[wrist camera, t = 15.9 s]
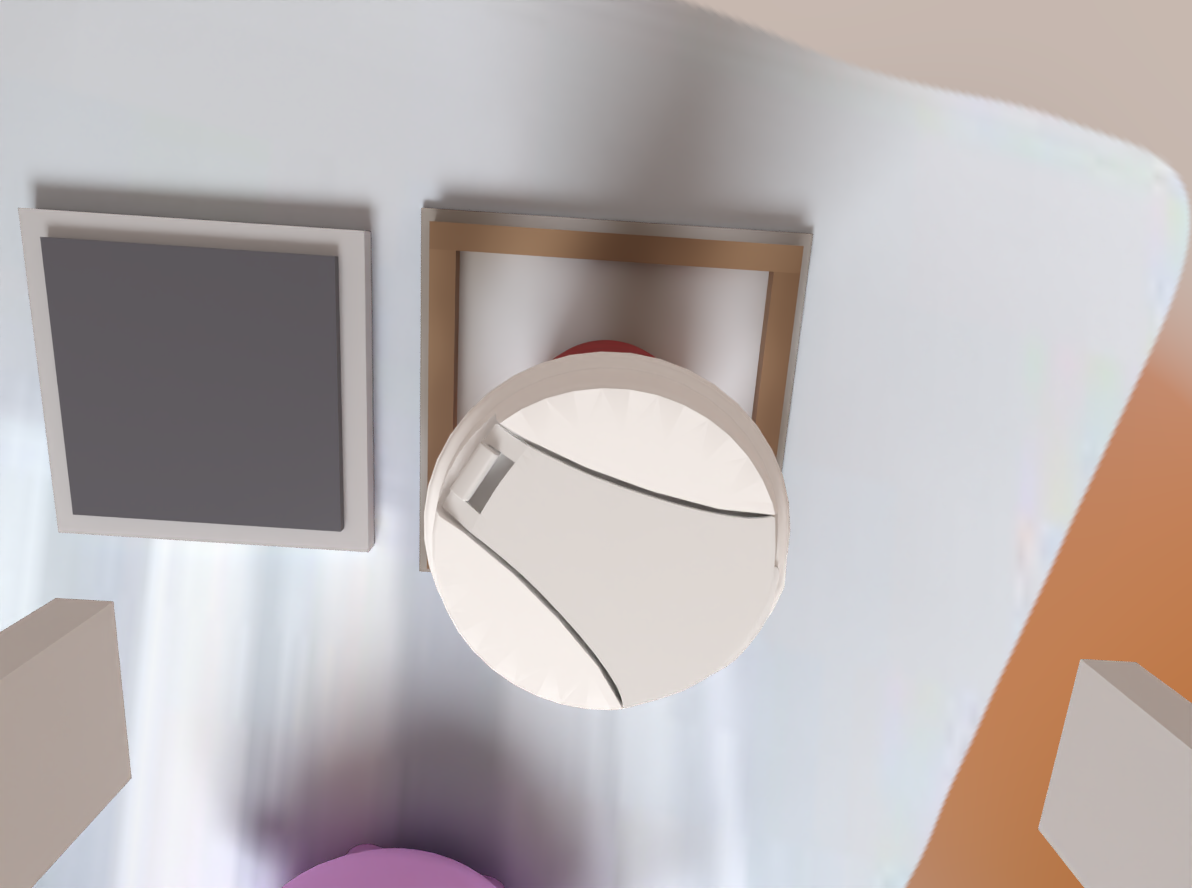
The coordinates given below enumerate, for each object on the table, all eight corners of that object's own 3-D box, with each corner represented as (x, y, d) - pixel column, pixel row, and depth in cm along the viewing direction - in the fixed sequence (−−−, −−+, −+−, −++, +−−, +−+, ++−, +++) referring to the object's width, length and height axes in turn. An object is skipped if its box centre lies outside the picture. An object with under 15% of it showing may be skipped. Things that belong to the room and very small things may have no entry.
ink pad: (71, 525, 31) (51, 535, 30) (34, 209, 28) (9, 206, 27) (374, 544, 31) (365, 556, 30) (371, 231, 28) (360, 230, 27)
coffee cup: (466, 438, 30) (335, 606, 15) (577, 268, 28) (549, 274, 14) (633, 546, 31) (659, 798, 16) (750, 388, 29) (895, 514, 15)
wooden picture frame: (420, 569, 32) (414, 579, 31) (422, 208, 28) (416, 206, 27) (764, 591, 32) (769, 601, 31) (811, 234, 28) (819, 233, 27)
